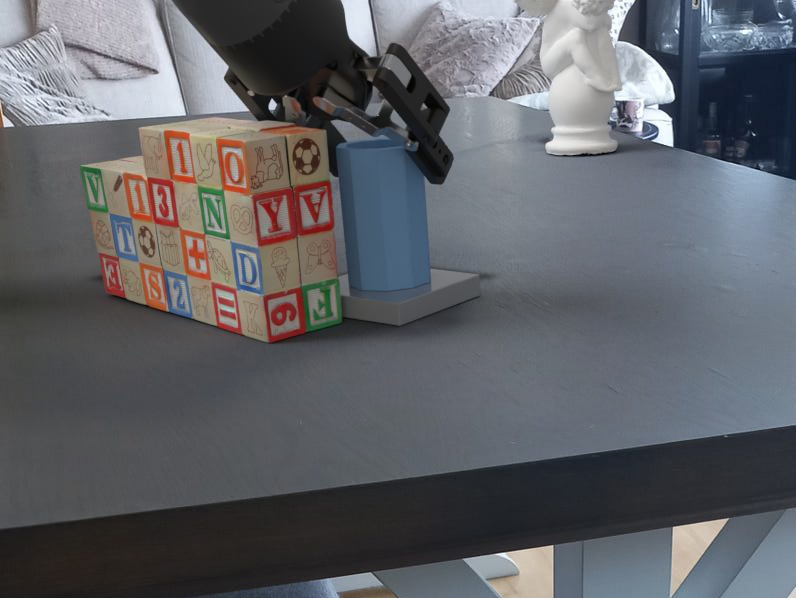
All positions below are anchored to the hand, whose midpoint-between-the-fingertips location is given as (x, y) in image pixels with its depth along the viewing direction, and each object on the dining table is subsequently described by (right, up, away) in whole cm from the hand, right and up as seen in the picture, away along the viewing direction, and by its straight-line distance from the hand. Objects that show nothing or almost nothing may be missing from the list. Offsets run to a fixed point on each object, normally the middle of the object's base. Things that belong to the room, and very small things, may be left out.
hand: (393, 170), depth 82 cm
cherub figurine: (+16, +26, +64) cm, 71 cm away
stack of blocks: (-13, -8, +4) cm, 16 cm away
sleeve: (0, -7, +3) cm, 7 cm away
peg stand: (0, -8, +3) cm, 9 cm away
